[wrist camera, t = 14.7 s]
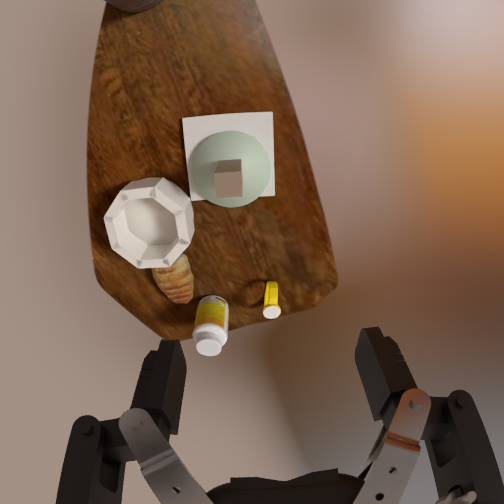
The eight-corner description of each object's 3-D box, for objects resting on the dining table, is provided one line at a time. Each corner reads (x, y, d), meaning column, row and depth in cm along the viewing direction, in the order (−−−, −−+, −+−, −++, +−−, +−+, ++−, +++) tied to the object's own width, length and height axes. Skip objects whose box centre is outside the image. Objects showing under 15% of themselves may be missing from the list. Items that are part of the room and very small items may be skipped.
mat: (183, 118, 36) (182, 118, 36) (272, 111, 36) (272, 111, 36) (191, 199, 42) (191, 200, 42) (274, 194, 42) (274, 195, 42)
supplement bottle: (193, 298, 51) (184, 339, 42) (222, 290, 50) (218, 332, 42) (205, 320, 54) (199, 362, 45) (233, 313, 53) (232, 355, 44)
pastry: (202, 294, 51) (200, 309, 48) (167, 300, 52) (163, 313, 48) (186, 248, 47) (182, 261, 43) (149, 256, 47) (142, 268, 44)
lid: (188, 134, 37) (176, 143, 30) (269, 128, 37) (274, 135, 30) (196, 207, 42) (187, 230, 36) (271, 203, 42) (276, 225, 36)
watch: (274, 301, 52) (277, 326, 47) (259, 301, 52) (260, 325, 47) (280, 275, 49) (283, 300, 44) (263, 274, 49) (265, 299, 44)
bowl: (113, 182, 40) (97, 194, 35) (188, 172, 40) (181, 183, 35) (128, 251, 46) (117, 269, 41) (198, 247, 46) (193, 266, 41)
